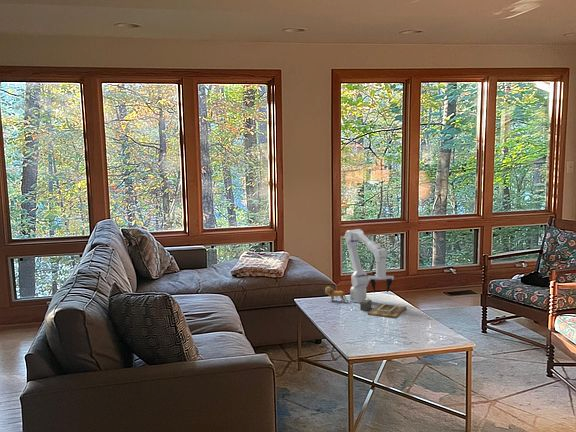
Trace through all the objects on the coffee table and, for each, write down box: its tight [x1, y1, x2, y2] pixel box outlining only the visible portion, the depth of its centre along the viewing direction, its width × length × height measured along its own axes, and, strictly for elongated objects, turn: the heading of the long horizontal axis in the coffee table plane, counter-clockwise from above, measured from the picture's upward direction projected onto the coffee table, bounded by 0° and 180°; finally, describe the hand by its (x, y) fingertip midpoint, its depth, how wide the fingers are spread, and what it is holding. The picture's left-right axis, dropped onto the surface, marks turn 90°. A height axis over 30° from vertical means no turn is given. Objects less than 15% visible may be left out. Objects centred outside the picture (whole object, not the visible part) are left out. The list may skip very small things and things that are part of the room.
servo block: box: [359, 298, 373, 312], centre depth 331 cm, size 4×9×6 cm, turn 151°
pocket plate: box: [367, 303, 407, 319], centre depth 325 cm, size 16×20×2 cm
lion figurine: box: [324, 286, 349, 304], centre depth 349 cm, size 15×5×9 cm, turn 70°
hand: (380, 292), depth 331 cm, fingers open, 7 cm apart
